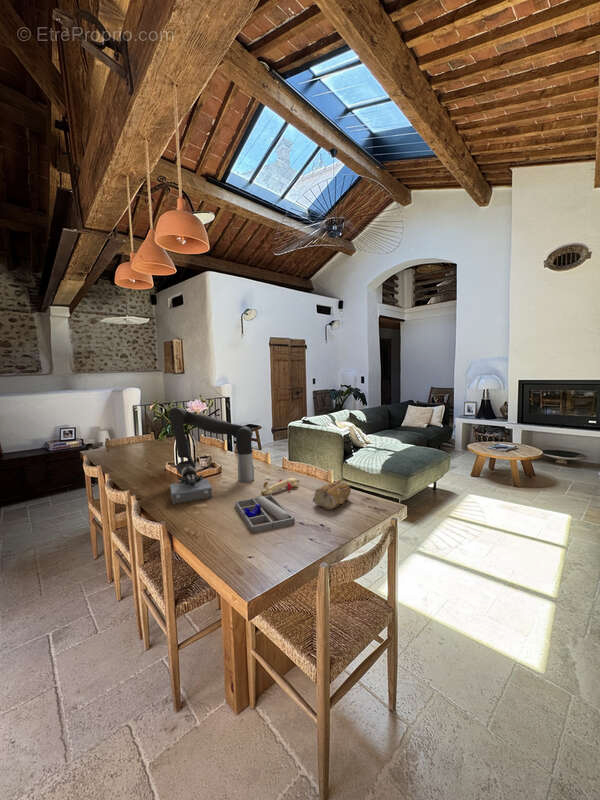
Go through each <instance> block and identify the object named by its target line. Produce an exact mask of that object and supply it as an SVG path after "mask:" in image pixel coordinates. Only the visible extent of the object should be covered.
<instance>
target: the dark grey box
mask: <svg viewBox="0 0 600 800" xmlns="http://www.w3.org/2000/svg"><path fill="white" fill-rule="evenodd" d="M169 487H170V486H169ZM212 489H213V488H212ZM212 489H208V490H202V491H195V492H189V493H182V494H176V495H172V492H171V487H170V489H169V490H170V500H171V505H175V504H174V503H177V504H181V503H180V502H184V503H187V502H186V501H190V502H193V501H192V500H196V501H199V500H198V499H202V500H206V499H205V498H208V499H212V498H213V495H212V493H213V492H212Z"/></svg>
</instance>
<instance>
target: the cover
mask: <svg viewBox="0 0 600 800" xmlns="http://www.w3.org/2000/svg"><path fill="white" fill-rule="evenodd" d="M169 487H171V491H170V493H171V492H172V495H176V494H182V493H189V492H195V491H202V490H208V489H213V487H212V485H211V483H210V481H209V479H208V478H203V480H201V481H200V482H198V483H196V482H195V485H194V486H191V485H190V484H181V483H179V482H177V483H170V484H169Z"/></svg>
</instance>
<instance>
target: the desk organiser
mask: <svg viewBox="0 0 600 800" xmlns="http://www.w3.org/2000/svg"><path fill="white" fill-rule="evenodd" d="M263 496H264V497H266V499H268V500H269V501H271V502H272V503H274V504H275V505H277V506H278V507H280V508H281V509H283V510H285V511H286V512H288V513H289V517H290V518H289V519H285V520H275V521H273V520H272V519H271V517H269V515H268V514H267V512H266V510H265V509H263V508H262V507H261V513H260V515H256V517H251V518H248V517H247V516H246V514H245V513H244V509H246V508H247V509H249V511H250V512H252V511H253V510H254V509H255V505H257V504H258V503H257V502H256V500H257V498H258V497H255V498H253V497H252V498H248V499H243V500H236V501H234V502H235V508H236V509H237V511H238V512H239V514H240V515H241V517H242V519H243V521H244V522H245V524H246V525H247V526H248V529H249V530H250V532H251V533H257V532H262V531H266V530H272V529H277V528H283V527H285V526H290V525H295V522H296V521H295V517H294V516H293V515H292V514H291V513H290V512H289V511H288V510H287V509H286V508H285V507H284V506H283V505H282V504H281V503H280V502H279V501H278V500H277V499H276V498H275V496H273V494H271V495H269V496H265V495H263ZM241 506H242V507H241ZM265 521H266V523H261V522H265ZM256 523H260V524H257V525H256ZM254 524H255V525H254Z"/></svg>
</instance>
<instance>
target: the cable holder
mask: <svg viewBox="0 0 600 800" xmlns="http://www.w3.org/2000/svg"><path fill="white" fill-rule="evenodd" d="M261 508H262V507H261V505H259V504H257V505H255V509H254V510H253V511H249V509H247V508H246V509H244V513H245V514H246V516H247V517H248V518H251V517H256V516H259V514H260V513H261ZM260 515H261V514H260Z"/></svg>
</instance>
